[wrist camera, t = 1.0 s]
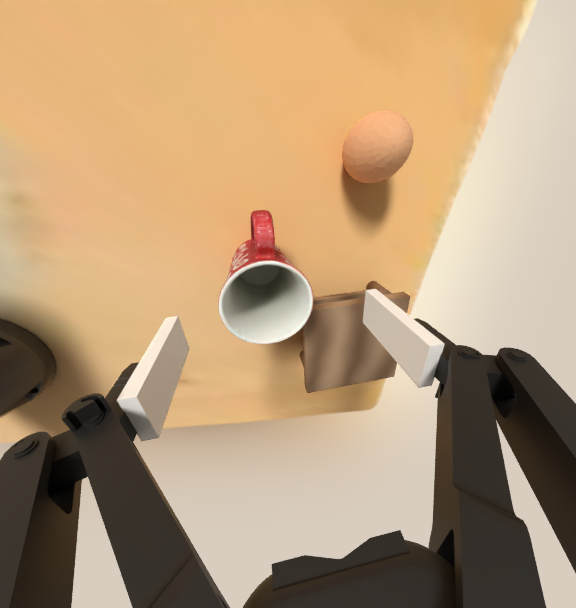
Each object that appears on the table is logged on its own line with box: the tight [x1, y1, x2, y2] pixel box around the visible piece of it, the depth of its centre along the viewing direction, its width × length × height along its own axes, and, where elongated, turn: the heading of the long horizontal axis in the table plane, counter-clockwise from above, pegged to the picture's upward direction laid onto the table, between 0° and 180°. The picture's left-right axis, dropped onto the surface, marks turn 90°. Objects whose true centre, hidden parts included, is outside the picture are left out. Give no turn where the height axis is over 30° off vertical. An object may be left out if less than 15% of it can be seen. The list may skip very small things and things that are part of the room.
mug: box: [218, 210, 313, 344], centre depth 27 cm, size 13×9×14 cm
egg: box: [342, 110, 413, 183], centre depth 25 cm, size 7×7×9 cm
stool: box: [300, 281, 410, 393], centre depth 37 cm, size 15×15×8 cm
